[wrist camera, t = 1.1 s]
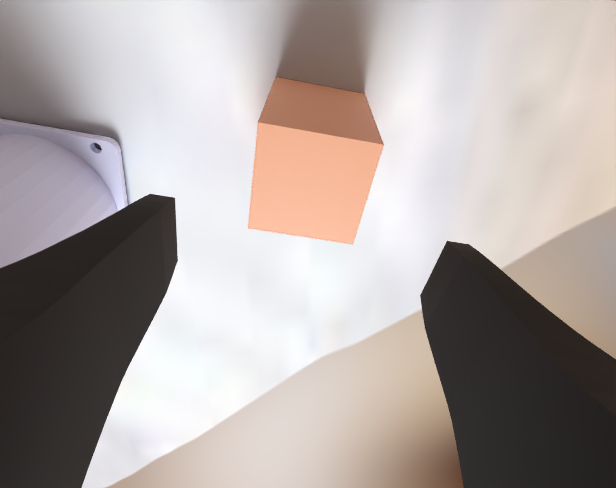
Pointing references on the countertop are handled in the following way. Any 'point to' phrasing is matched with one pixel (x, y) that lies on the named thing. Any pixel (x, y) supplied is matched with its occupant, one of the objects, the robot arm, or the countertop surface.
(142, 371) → the countertop surface
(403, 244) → the countertop surface
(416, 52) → the countertop surface
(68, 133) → the robot arm
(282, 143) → the terracotta block
